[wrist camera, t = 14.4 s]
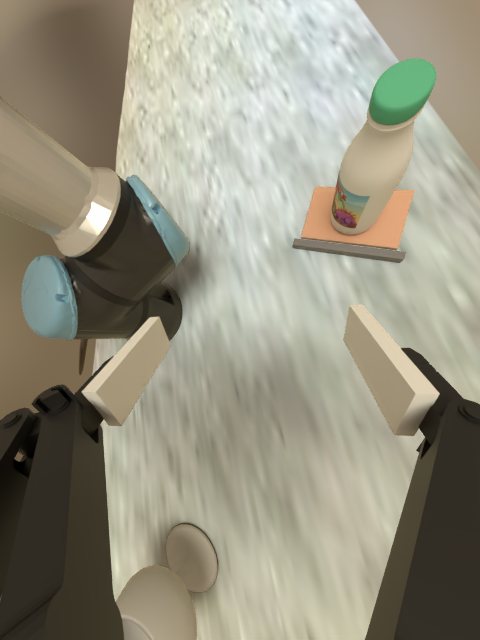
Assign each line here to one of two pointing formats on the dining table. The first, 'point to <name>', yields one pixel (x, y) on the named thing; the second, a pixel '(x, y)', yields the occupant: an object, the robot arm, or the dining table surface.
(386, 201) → the milk bottle
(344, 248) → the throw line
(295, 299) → the dining table surface
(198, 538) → the chalice
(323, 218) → the tile
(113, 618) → the robot arm
